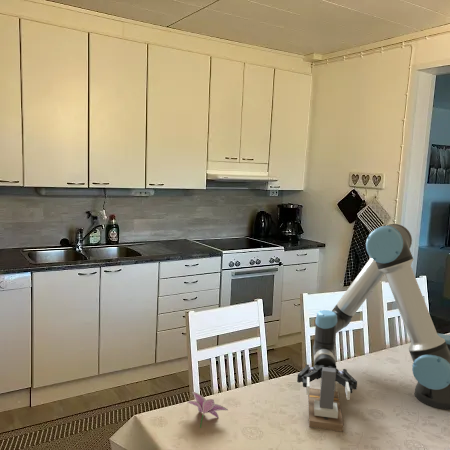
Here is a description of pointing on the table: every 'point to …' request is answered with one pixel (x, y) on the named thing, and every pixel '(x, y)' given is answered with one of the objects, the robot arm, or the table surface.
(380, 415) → the table surface
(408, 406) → the table surface
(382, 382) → the table surface
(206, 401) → the lily
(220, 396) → the table surface
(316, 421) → the board
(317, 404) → the slider
